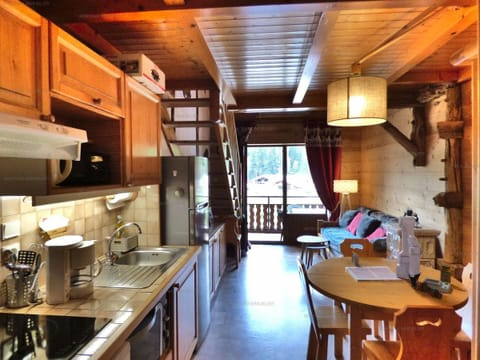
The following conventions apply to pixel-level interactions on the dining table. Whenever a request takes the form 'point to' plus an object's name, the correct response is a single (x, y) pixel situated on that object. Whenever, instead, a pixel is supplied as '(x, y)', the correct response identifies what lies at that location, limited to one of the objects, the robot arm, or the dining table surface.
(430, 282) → the button control panel
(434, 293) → the bolt
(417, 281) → the orange short cylinder
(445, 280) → the yellow metal cylinder
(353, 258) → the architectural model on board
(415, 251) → the robot arm
